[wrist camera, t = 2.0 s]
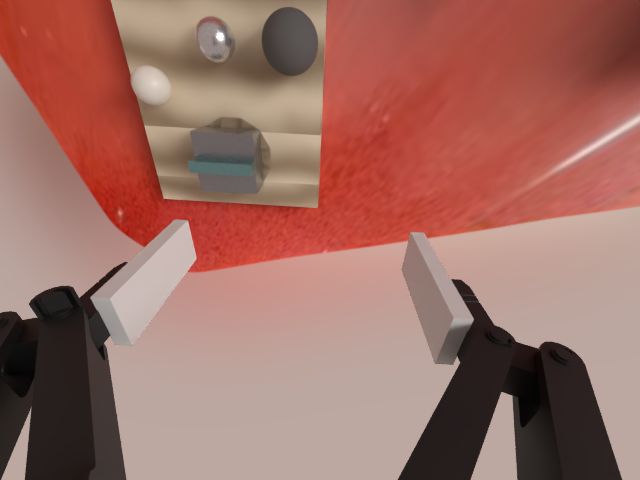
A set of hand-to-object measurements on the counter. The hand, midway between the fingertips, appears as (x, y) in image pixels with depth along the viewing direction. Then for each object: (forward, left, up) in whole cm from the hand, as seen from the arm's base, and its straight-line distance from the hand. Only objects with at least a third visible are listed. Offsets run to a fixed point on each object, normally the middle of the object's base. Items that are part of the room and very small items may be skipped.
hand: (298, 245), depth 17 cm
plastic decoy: (-7, -17, -17) cm, 25 cm away
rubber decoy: (-11, -3, -16) cm, 20 cm away
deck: (-5, -10, -21) cm, 24 cm away
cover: (0, -10, -18) cm, 21 cm away
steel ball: (-11, -10, -17) cm, 22 cm away
